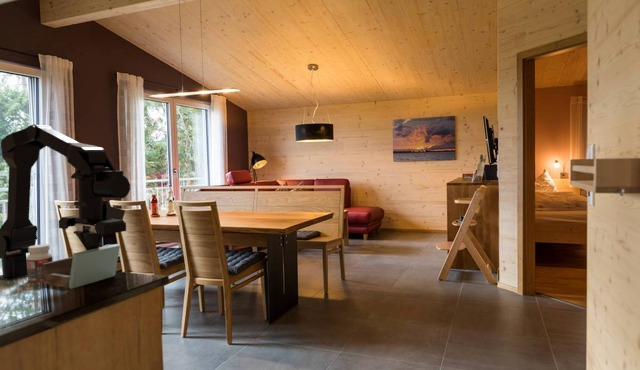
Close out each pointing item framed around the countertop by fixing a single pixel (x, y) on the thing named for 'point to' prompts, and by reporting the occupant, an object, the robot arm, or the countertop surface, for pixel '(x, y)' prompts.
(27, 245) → the robot arm
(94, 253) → the pale green rectangular panel
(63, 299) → the countertop surface
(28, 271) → the pill bottle
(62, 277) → the wooden open crate
